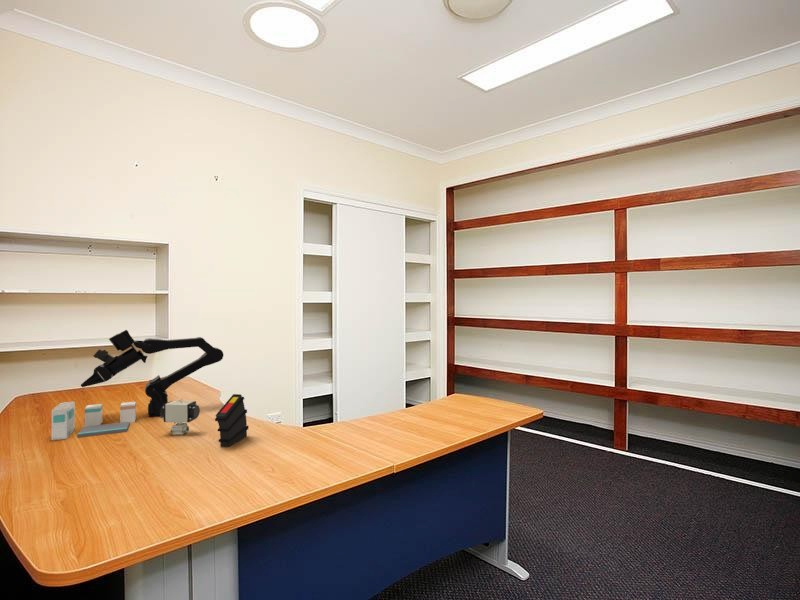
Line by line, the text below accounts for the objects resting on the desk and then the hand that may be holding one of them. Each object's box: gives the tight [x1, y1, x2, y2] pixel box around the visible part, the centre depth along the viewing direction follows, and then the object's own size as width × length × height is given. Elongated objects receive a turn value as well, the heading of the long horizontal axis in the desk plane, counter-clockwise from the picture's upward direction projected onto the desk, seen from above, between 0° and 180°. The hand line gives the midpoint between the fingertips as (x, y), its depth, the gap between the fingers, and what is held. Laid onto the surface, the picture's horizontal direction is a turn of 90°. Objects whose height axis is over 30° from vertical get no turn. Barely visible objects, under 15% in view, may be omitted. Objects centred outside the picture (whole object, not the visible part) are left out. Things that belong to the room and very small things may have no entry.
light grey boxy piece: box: [119, 401, 137, 424], centre depth 162 cm, size 5×5×7 cm
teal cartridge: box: [84, 403, 103, 427], centre depth 158 cm, size 5×5×7 cm
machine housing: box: [51, 401, 76, 441], centre depth 146 cm, size 4×12×10 cm, turn 27°
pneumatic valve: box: [159, 398, 201, 436], centre depth 147 cm, size 6×12×12 cm, turn 89°
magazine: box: [214, 393, 249, 448], centre depth 139 cm, size 4×13×15 cm, turn 169°
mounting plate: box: [77, 422, 131, 438], centre depth 150 cm, size 14×10×1 cm
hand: (83, 384), depth 159 cm, fingers open, 9 cm apart
